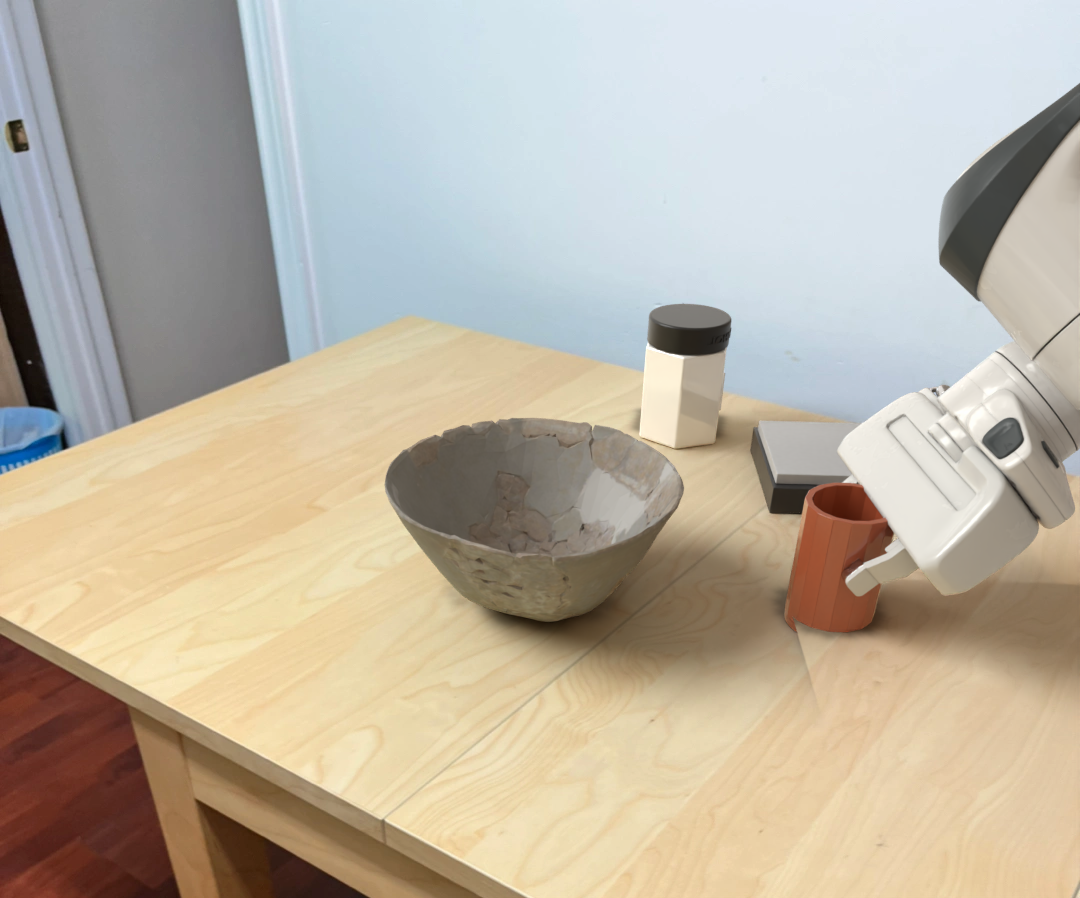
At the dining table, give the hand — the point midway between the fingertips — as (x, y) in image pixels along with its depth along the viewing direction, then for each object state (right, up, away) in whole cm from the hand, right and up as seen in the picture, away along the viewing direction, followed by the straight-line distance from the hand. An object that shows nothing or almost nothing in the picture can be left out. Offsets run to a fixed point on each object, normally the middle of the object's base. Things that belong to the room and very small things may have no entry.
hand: (832, 558), depth 77 cm
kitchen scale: (+7, +11, +23) cm, 27 cm away
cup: (+1, -4, +3) cm, 5 cm away
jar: (-7, +18, +32) cm, 38 cm away
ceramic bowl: (-22, -2, +6) cm, 23 cm away
